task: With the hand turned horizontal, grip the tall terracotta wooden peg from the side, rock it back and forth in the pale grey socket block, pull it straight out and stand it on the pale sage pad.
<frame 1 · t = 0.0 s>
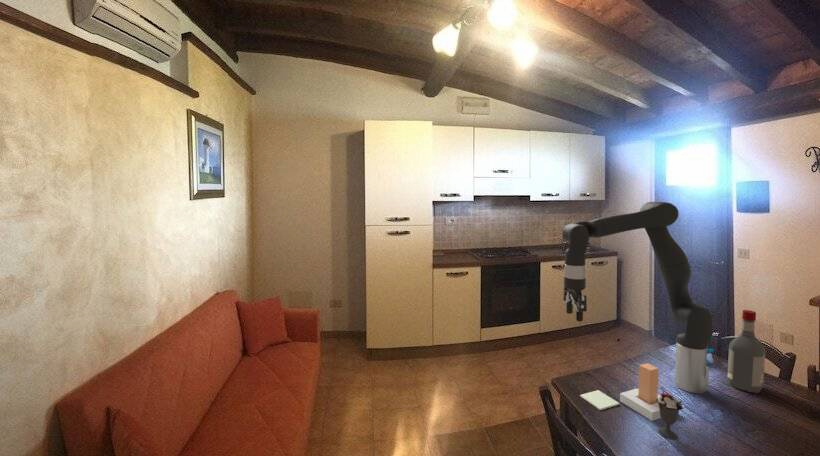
hand: (574, 316, 131), 29 cm above the table, tool pointing down, fingers open, 8 cm apart
socket block: (647, 406, 121), on the table
peg: (648, 386, 121), in the socket block
gear: (699, 362, 152), on the table
pad: (599, 400, 126), on the table
sundae: (667, 434, 108), on the table
liquor: (744, 386, 132), on the table
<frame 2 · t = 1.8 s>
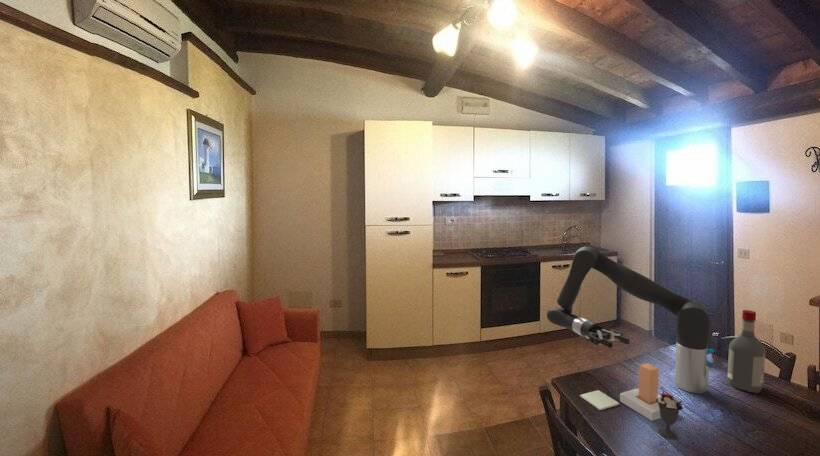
hand: (620, 343, 130), 19 cm above the table, tool horizontal, fingers open, 8 cm apart
nothing on the table moved.
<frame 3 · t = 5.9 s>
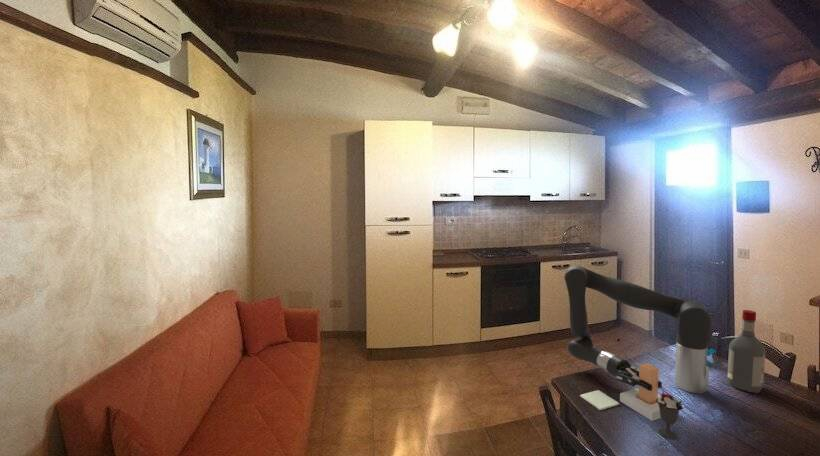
hand: (656, 386, 118), 9 cm above the table, tool horizontal, fingers closed on peg, 4 cm apart
peg: (648, 386, 121), in the socket block, touching gripper
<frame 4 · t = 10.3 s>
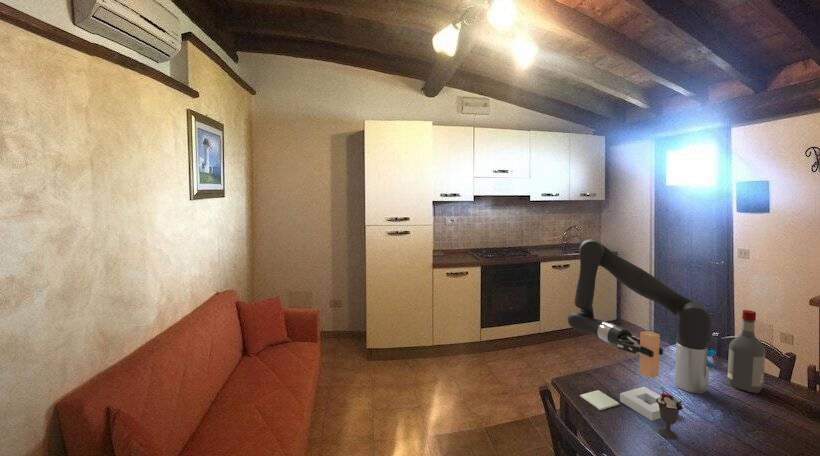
hand: (657, 353, 117), 21 cm above the table, tool horizontal, fingers closed on peg, 4 cm apart
peg: (649, 354, 120), point 20 cm above the table, touching gripper
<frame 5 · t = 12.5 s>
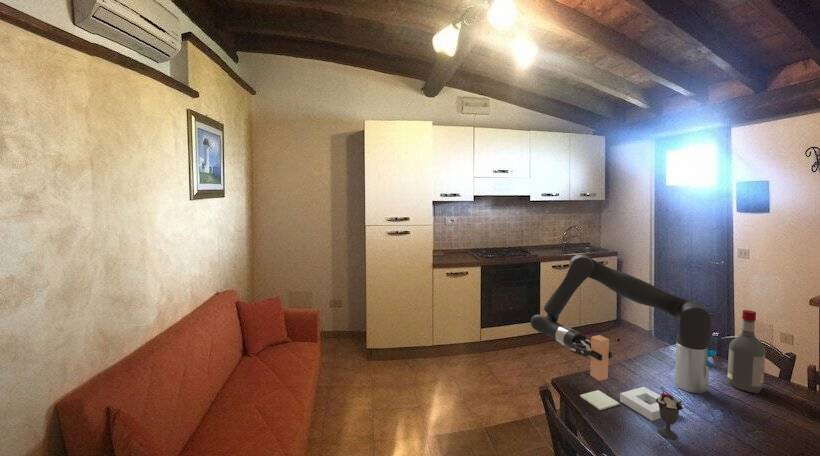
hand: (606, 356, 122), 18 cm above the table, tool horizontal, fingers closed on peg, 4 cm apart
peg: (599, 357, 124), point 17 cm above the table, touching gripper
when the fingers open (10 cm above the table, at t = 14.5 s): peg stays where it is, resting on pad.
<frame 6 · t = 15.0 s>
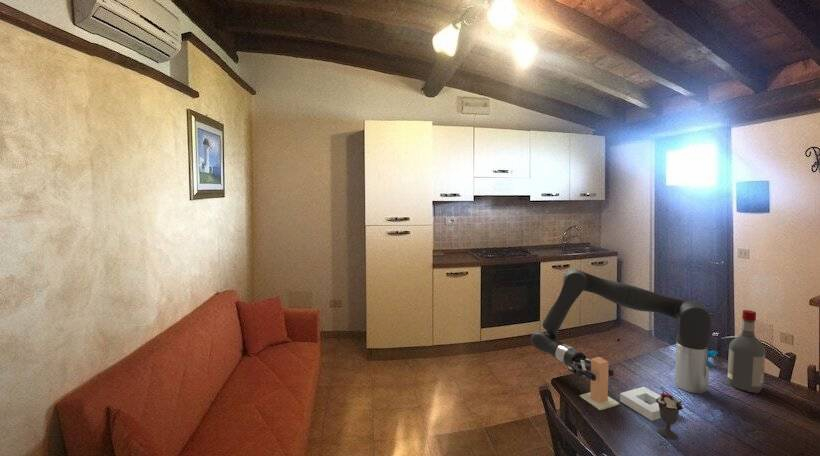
hand: (604, 376, 123), 10 cm above the table, tool horizontal, fingers open, 8 cm apart
peg: (599, 379, 125), on the pad, point 8 cm above the table
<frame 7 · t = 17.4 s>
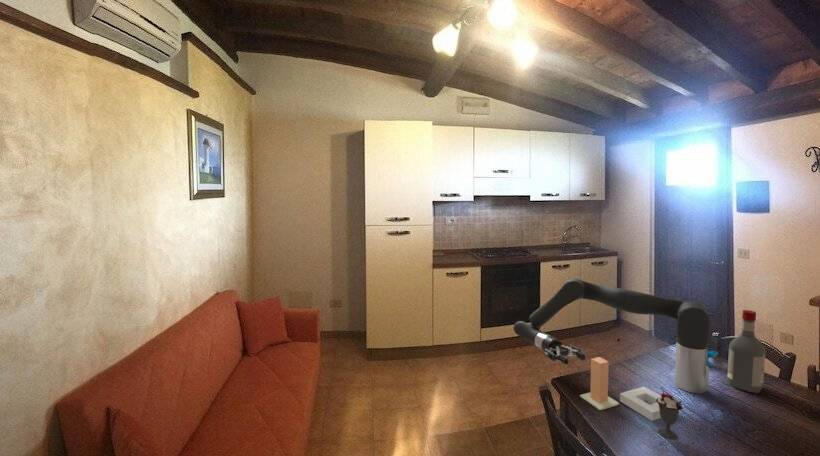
hand: (576, 360, 135), 11 cm above the table, tool horizontal, fingers open, 8 cm apart
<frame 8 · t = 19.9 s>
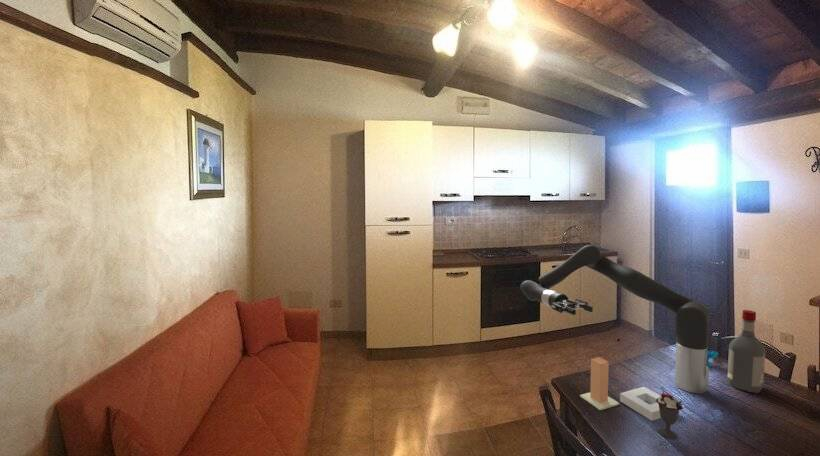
hand: (583, 311, 135), 30 cm above the table, tool horizontal, fingers open, 8 cm apart
at the end: peg 0.1 cm off-centre on the pad, point 8.1 cm above the pad's base; peg tilted 0°; the gripper is holding nothing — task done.
